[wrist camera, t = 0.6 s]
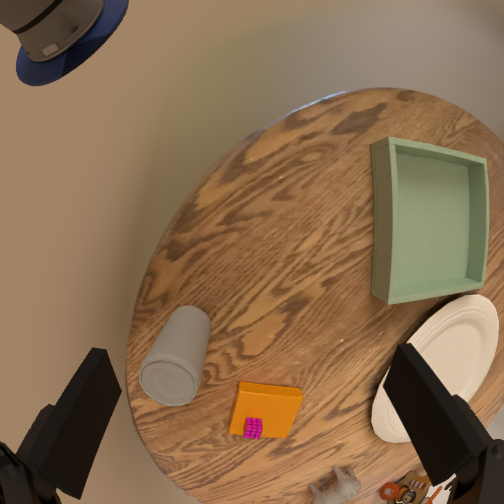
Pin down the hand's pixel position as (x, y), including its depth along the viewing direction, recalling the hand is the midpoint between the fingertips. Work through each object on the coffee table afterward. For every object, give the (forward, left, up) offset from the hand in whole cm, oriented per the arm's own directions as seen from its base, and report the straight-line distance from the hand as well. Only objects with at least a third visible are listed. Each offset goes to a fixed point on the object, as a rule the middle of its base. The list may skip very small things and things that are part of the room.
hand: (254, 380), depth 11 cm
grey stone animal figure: (+42, +14, -19) cm, 48 cm away
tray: (-6, +24, -19) cm, 31 cm away
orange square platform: (+18, +2, -19) cm, 26 cm away
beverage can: (+5, -6, -19) cm, 21 cm away
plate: (+19, +32, -19) cm, 42 cm away
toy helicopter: (+51, +37, -19) cm, 66 cm away
